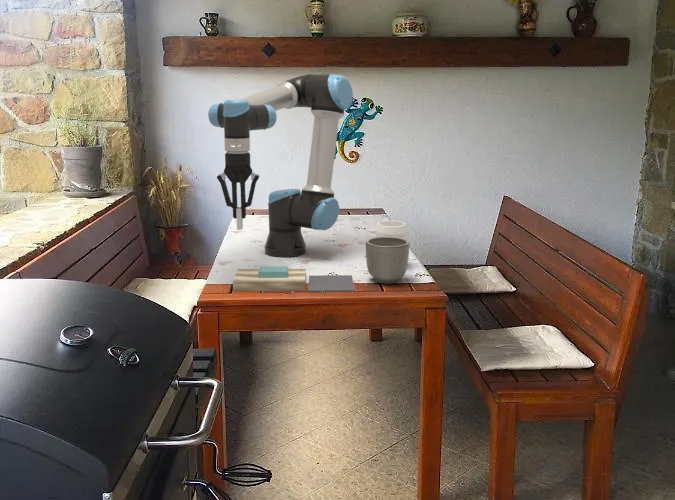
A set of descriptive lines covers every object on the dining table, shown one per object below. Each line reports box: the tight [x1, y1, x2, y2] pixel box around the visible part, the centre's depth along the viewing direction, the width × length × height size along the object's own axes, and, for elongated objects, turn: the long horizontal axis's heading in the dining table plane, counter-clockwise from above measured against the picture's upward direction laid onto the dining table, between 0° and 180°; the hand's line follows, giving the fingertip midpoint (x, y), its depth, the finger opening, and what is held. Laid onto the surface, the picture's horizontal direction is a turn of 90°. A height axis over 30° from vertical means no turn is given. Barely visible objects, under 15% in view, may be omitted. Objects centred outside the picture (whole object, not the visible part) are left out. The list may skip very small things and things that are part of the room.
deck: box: [232, 268, 307, 292], centre depth 225 cm, size 14×22×3 cm, turn 92°
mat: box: [307, 274, 355, 293], centre depth 226 cm, size 16×14×1 cm
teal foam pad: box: [258, 265, 289, 278], centre depth 224 cm, size 9×6×2 cm, turn 92°
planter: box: [365, 236, 410, 285], centre depth 228 cm, size 14×14×13 cm
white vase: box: [375, 220, 408, 240], centre depth 244 cm, size 11×11×15 cm
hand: (239, 228), depth 221 cm, fingers closed
